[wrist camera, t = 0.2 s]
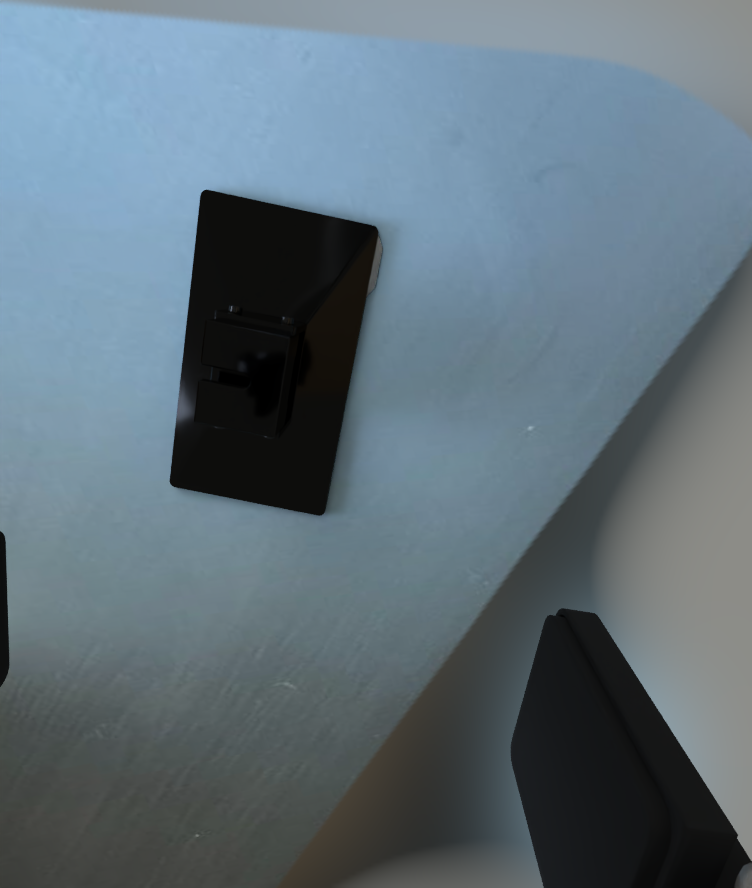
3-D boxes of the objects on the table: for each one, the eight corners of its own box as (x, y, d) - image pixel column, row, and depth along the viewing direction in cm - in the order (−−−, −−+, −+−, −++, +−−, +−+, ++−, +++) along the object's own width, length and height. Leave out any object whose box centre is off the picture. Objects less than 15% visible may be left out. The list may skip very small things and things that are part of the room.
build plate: (204, 190, 21) (156, 161, 17) (386, 229, 22) (387, 211, 17) (171, 483, 25) (123, 524, 20) (330, 515, 25) (318, 562, 20)
